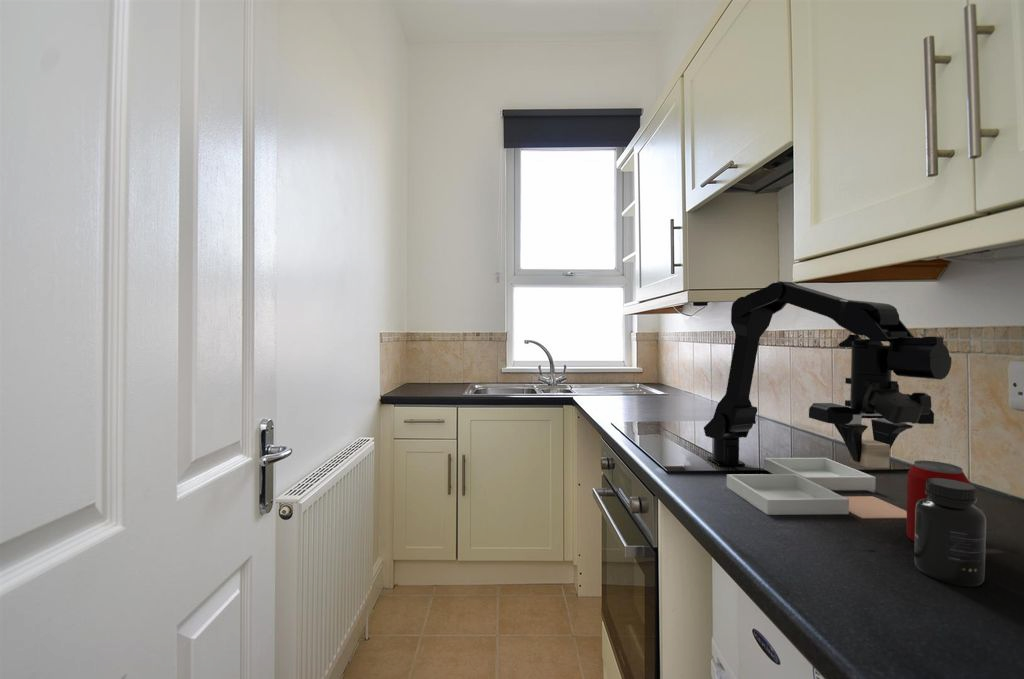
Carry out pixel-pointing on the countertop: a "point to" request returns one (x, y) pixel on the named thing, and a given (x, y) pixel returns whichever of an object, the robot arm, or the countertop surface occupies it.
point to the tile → (874, 508)
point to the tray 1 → (786, 494)
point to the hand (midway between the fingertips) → (868, 461)
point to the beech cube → (874, 454)
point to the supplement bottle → (950, 533)
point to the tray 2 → (822, 473)
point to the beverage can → (918, 485)
